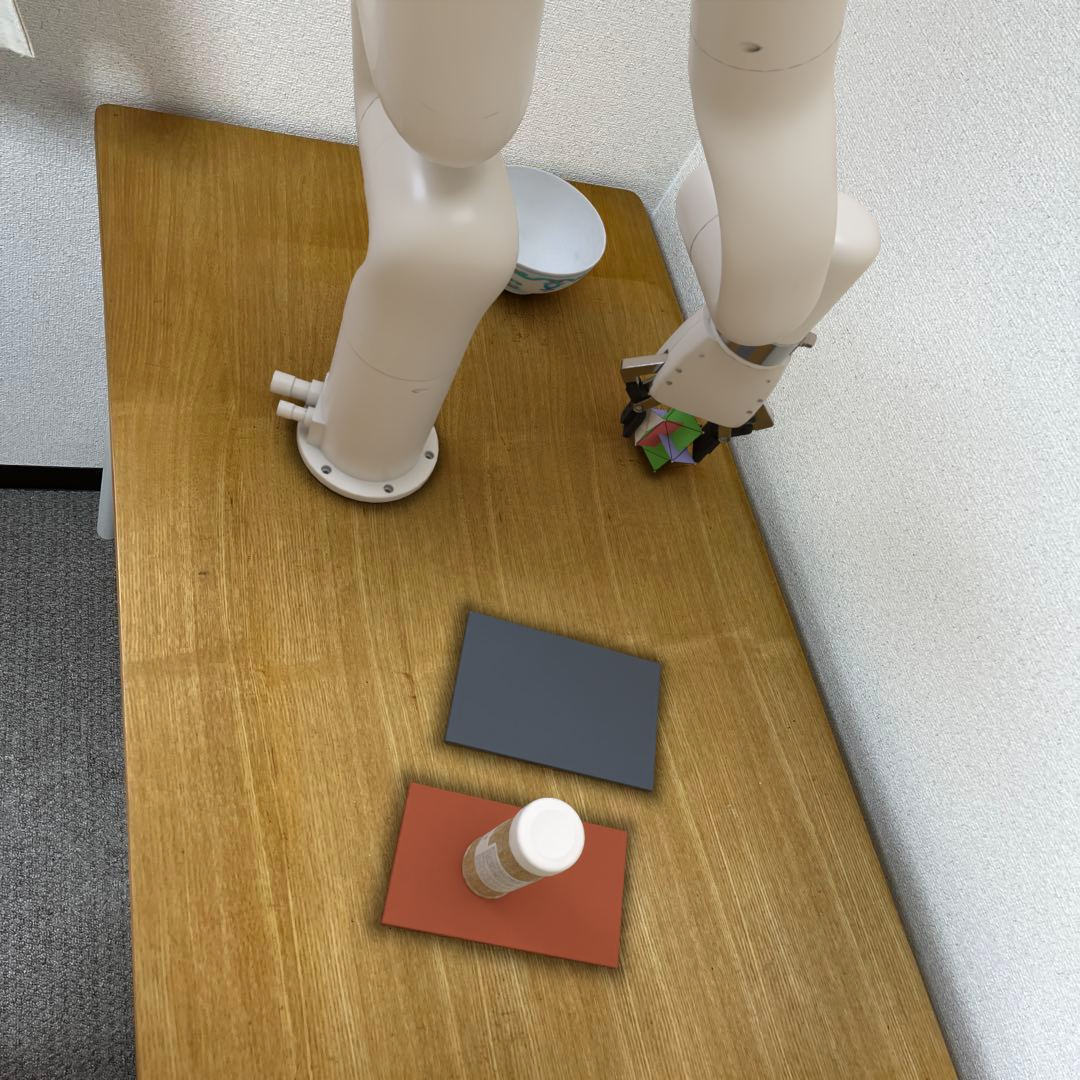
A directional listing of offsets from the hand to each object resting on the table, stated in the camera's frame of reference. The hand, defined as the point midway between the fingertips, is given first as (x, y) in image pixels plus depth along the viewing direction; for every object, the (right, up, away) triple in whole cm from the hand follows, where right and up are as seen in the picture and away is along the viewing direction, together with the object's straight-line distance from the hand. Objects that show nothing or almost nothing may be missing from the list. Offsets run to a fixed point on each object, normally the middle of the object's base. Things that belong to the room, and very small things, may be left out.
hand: (661, 438), depth 91 cm
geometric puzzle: (-1, -1, +2) cm, 2 cm away
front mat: (-15, -35, -23) cm, 45 cm away
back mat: (-11, -24, -15) cm, 30 cm away
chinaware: (-15, +19, +8) cm, 25 cm away
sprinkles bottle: (-16, -35, -24) cm, 45 cm away
